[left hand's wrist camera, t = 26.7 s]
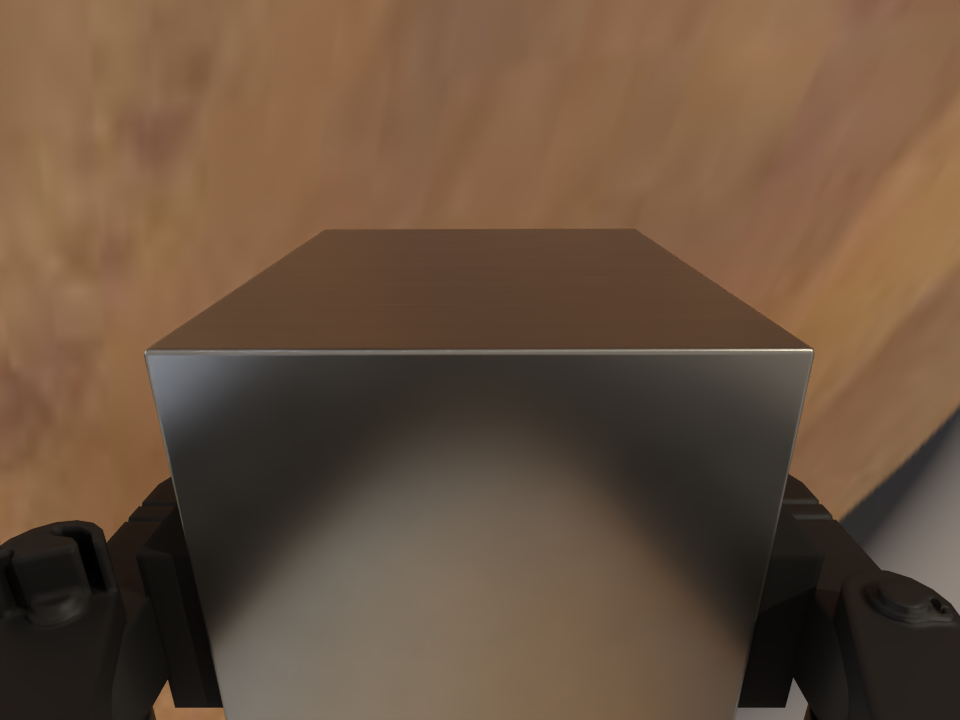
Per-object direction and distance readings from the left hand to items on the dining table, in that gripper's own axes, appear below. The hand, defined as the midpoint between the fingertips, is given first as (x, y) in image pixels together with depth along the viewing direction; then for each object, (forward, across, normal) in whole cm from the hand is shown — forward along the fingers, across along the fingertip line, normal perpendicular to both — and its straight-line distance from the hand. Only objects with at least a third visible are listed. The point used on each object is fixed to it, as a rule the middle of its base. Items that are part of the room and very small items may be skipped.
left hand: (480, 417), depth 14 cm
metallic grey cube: (+1, 0, 0) cm, 1 cm away
